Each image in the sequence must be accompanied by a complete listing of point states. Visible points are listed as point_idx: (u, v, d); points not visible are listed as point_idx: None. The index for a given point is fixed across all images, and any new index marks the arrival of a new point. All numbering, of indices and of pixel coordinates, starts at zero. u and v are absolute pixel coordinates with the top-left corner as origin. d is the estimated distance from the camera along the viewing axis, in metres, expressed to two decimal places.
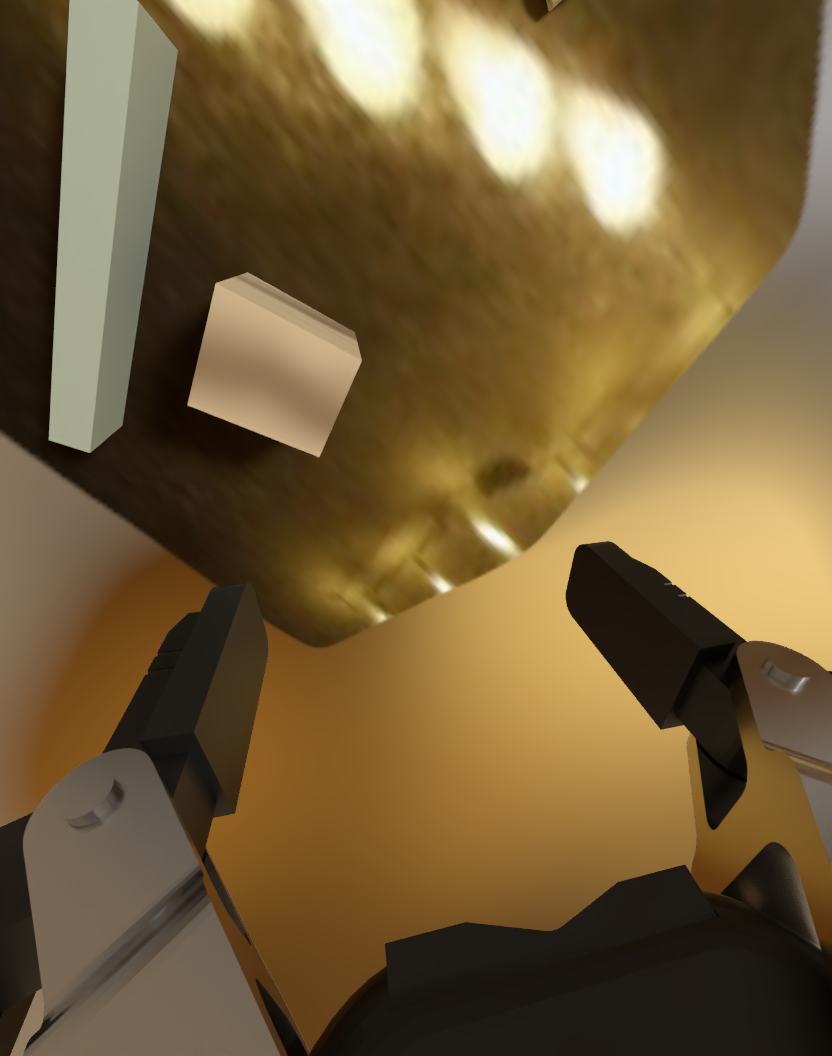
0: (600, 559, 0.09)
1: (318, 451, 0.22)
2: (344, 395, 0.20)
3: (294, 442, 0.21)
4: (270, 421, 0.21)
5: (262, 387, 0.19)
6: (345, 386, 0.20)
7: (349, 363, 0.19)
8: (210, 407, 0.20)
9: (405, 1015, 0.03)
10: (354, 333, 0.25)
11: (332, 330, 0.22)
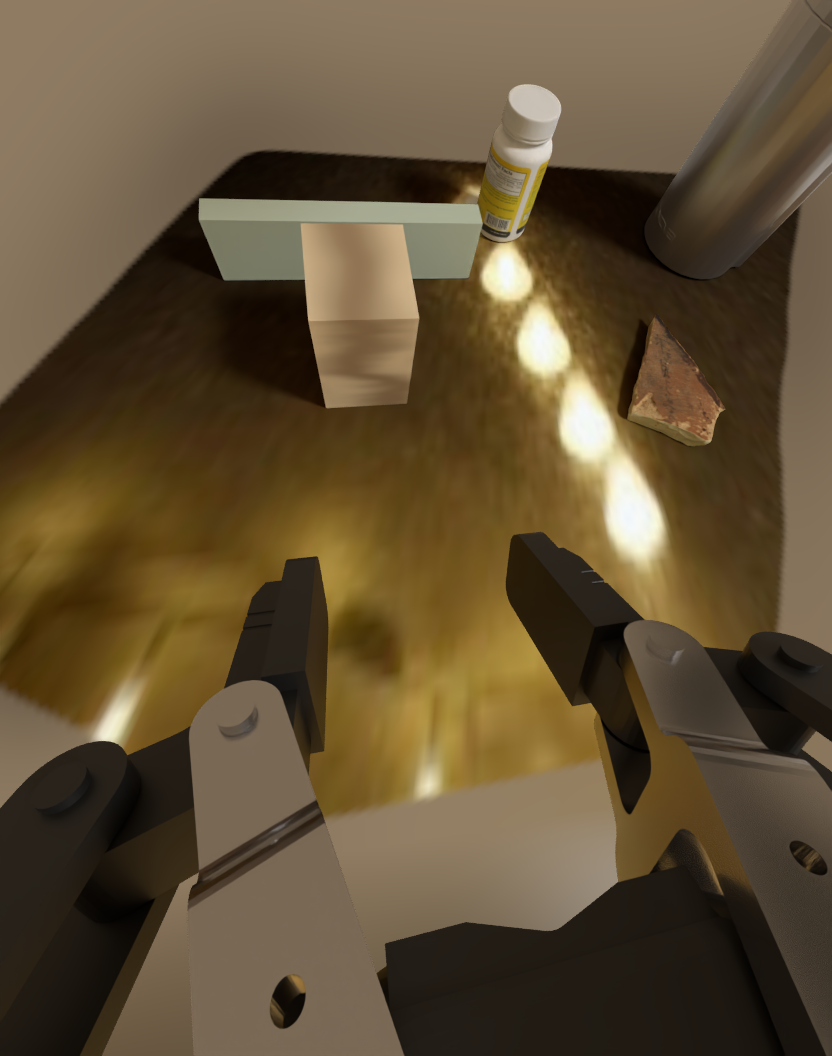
0: (528, 548, 0.09)
1: (314, 318, 0.20)
2: (382, 318, 0.21)
3: (312, 297, 0.20)
4: (321, 275, 0.21)
5: (348, 263, 0.21)
6: (390, 315, 0.21)
7: (410, 311, 0.21)
8: (308, 236, 0.22)
9: (405, 1015, 0.03)
10: None
11: None
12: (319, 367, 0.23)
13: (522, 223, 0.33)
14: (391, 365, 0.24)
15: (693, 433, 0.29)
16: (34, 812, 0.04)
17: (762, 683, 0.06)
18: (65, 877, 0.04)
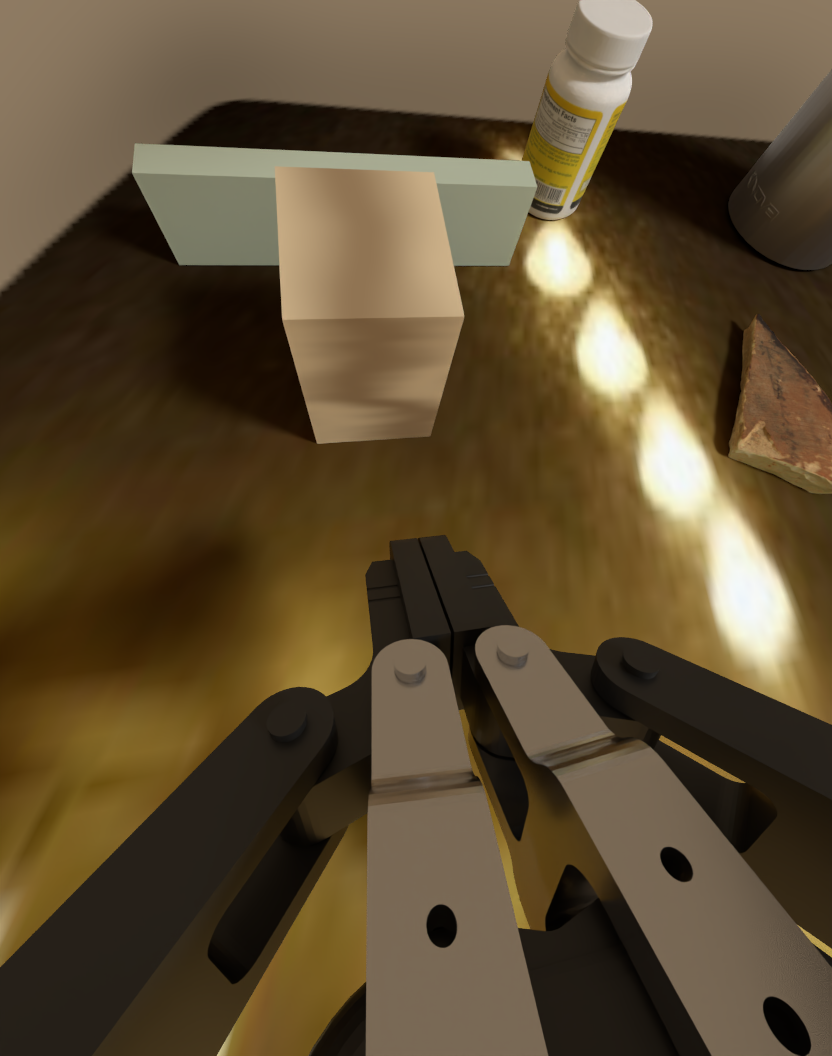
0: (424, 551, 0.09)
1: (292, 315, 0.12)
2: (405, 315, 0.13)
3: (289, 281, 0.12)
4: (306, 246, 0.13)
5: (350, 228, 0.13)
6: (418, 311, 0.13)
7: (450, 304, 0.13)
8: (285, 186, 0.14)
9: None
10: (431, 430, 0.20)
11: None
12: (304, 391, 0.15)
13: (579, 194, 0.25)
14: (412, 387, 0.16)
15: (825, 478, 0.21)
16: (267, 734, 0.05)
17: (616, 698, 0.06)
18: (283, 805, 0.04)
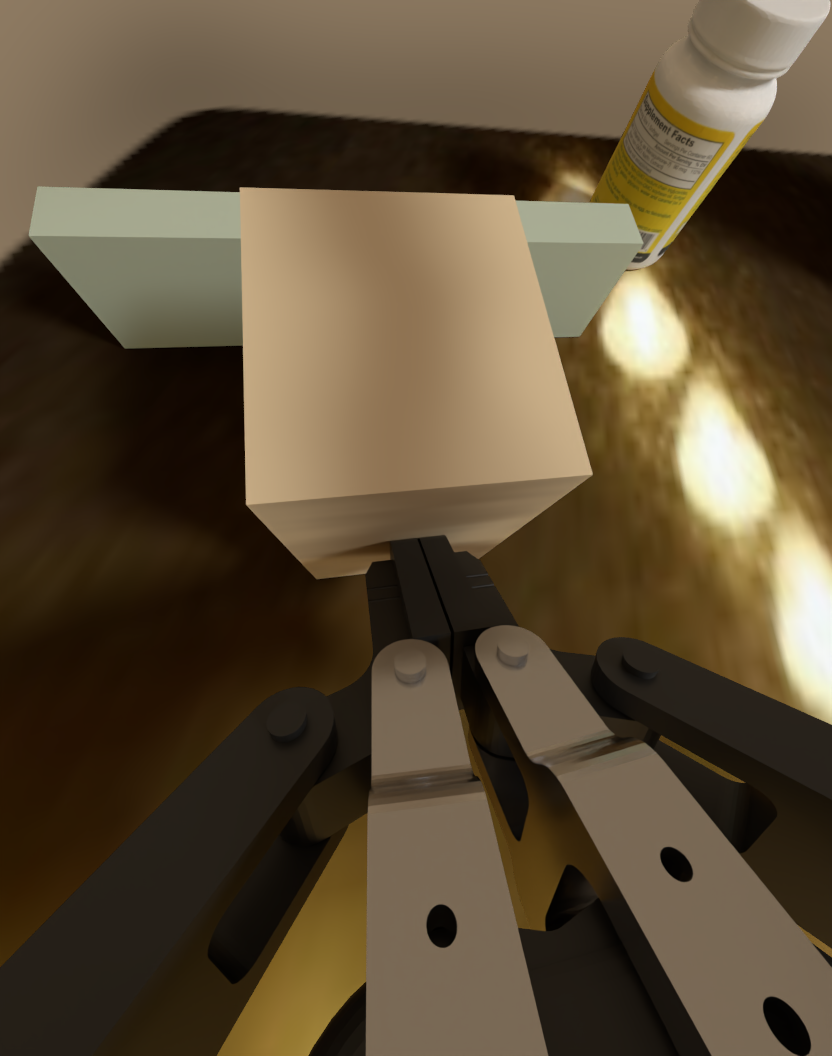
0: (424, 551, 0.09)
1: (267, 493, 0.06)
2: (484, 479, 0.07)
3: (262, 416, 0.06)
4: (294, 341, 0.07)
5: (375, 302, 0.07)
6: (508, 469, 0.07)
7: (565, 451, 0.07)
8: (259, 224, 0.08)
9: None
10: (480, 556, 0.14)
11: None
12: (296, 553, 0.09)
13: (673, 238, 0.19)
14: (468, 535, 0.10)
15: None
16: (267, 734, 0.05)
17: (616, 699, 0.06)
18: (282, 805, 0.04)
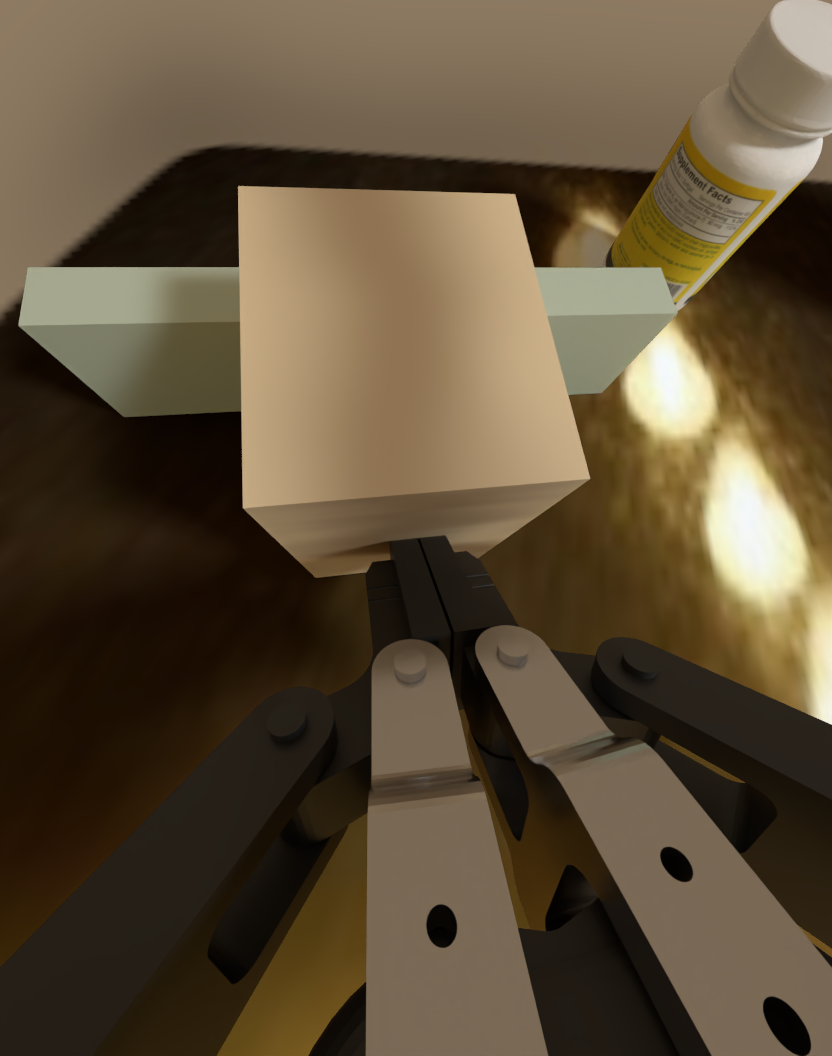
0: (424, 551, 0.09)
1: (263, 496, 0.06)
2: (481, 483, 0.07)
3: (259, 419, 0.06)
4: (292, 343, 0.07)
5: (373, 303, 0.07)
6: (505, 473, 0.07)
7: (562, 455, 0.07)
8: (257, 223, 0.08)
9: None
10: (479, 555, 0.14)
11: None
12: (294, 553, 0.09)
13: (701, 287, 0.18)
14: (467, 536, 0.10)
15: None
16: (267, 734, 0.05)
17: (617, 699, 0.06)
18: (283, 805, 0.04)
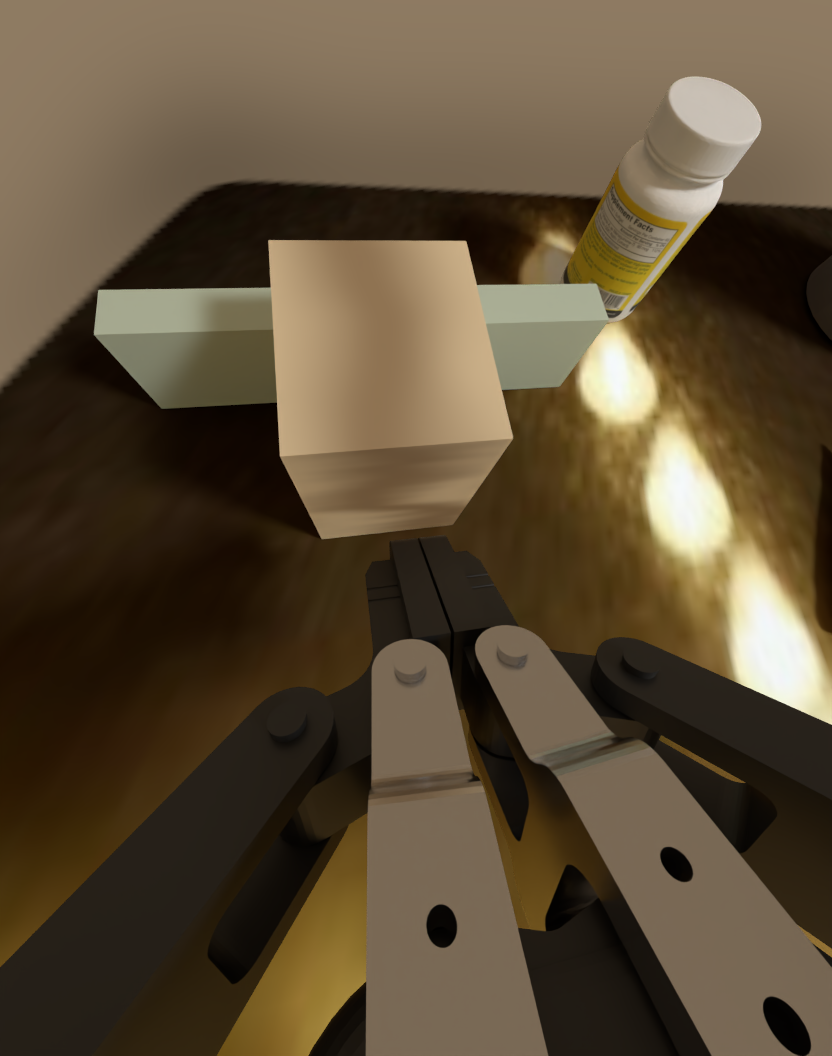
0: (424, 551, 0.09)
1: (293, 449, 0.09)
2: (438, 441, 0.10)
3: (288, 399, 0.10)
4: (309, 349, 0.10)
5: (365, 321, 0.11)
6: (454, 434, 0.10)
7: (494, 422, 0.10)
8: (283, 266, 0.11)
9: None
10: (454, 520, 0.17)
11: None
12: (308, 506, 0.13)
13: (642, 298, 0.21)
14: (438, 494, 0.13)
15: None
16: (267, 734, 0.05)
17: (617, 699, 0.06)
18: (283, 805, 0.04)
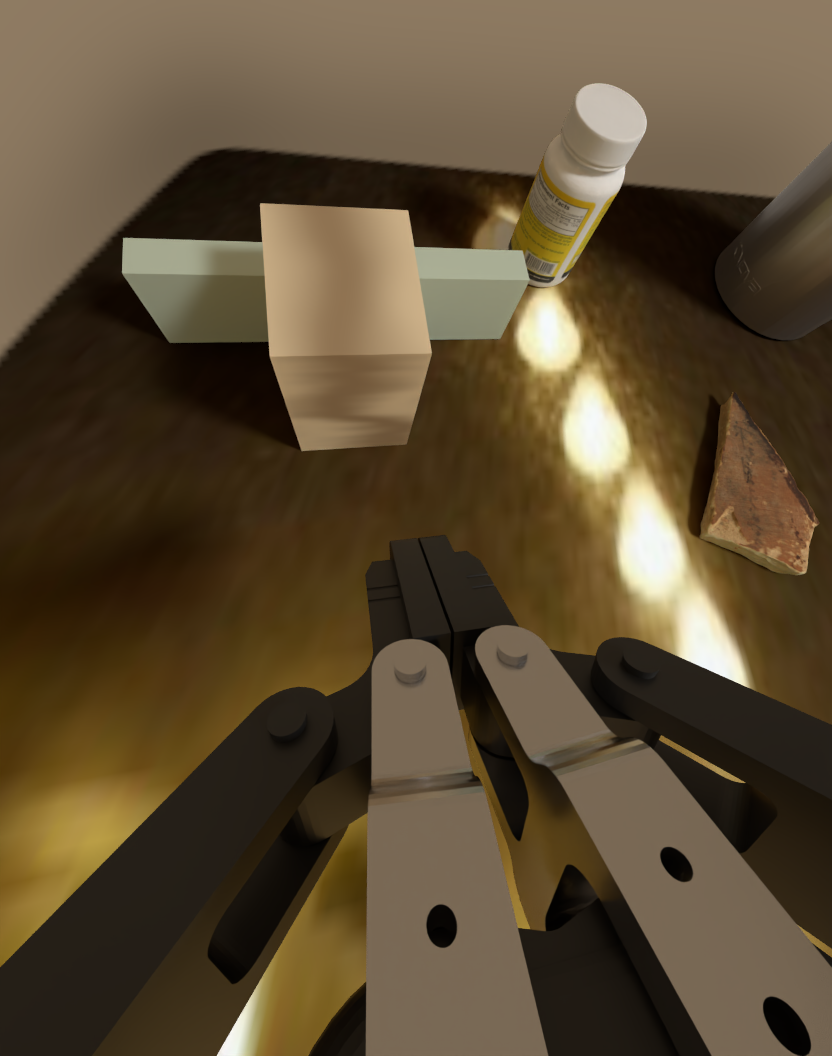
0: (424, 551, 0.09)
1: (278, 352, 0.14)
2: (379, 352, 0.14)
3: (275, 319, 0.14)
4: (290, 285, 0.14)
5: (330, 267, 0.15)
6: (390, 348, 0.14)
7: (419, 342, 0.15)
8: (271, 223, 0.15)
9: None
10: (407, 439, 0.22)
11: None
12: (290, 409, 0.17)
13: (570, 266, 0.25)
14: (388, 406, 0.18)
15: (785, 563, 0.23)
16: (267, 734, 0.05)
17: (616, 699, 0.06)
18: (282, 805, 0.04)
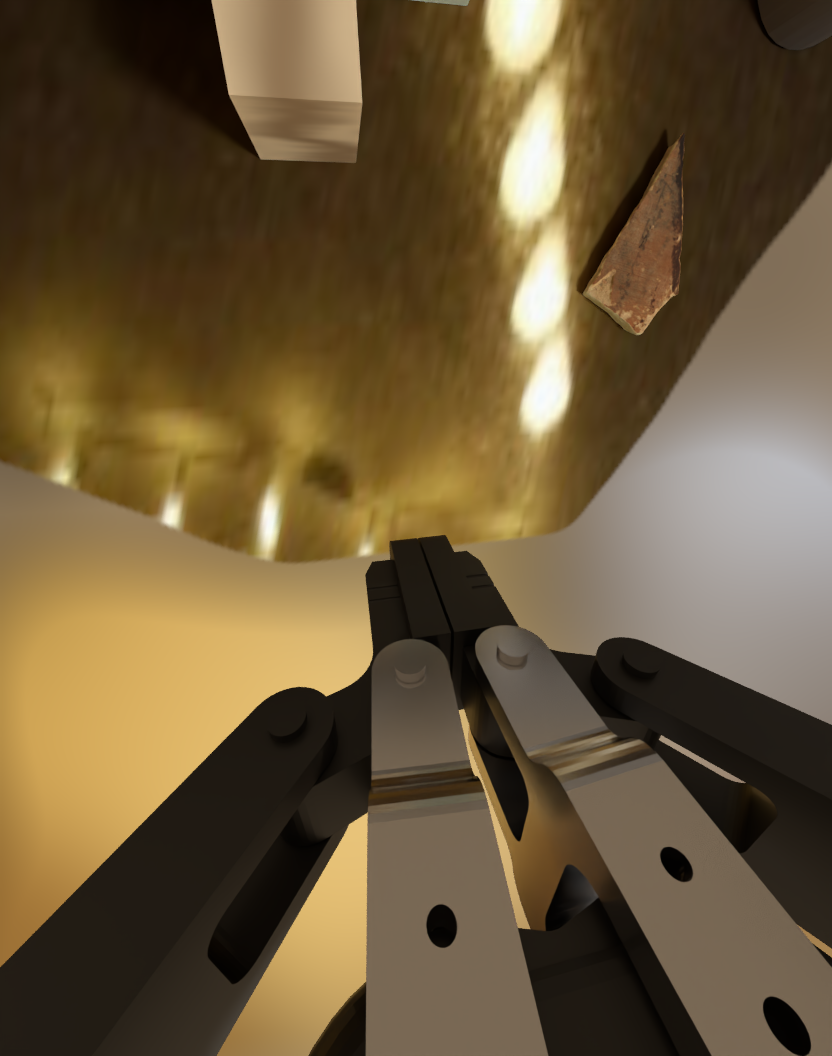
0: (424, 551, 0.09)
1: (235, 90, 0.17)
2: (318, 97, 0.18)
3: (226, 43, 0.16)
4: None
5: None
6: (327, 93, 0.18)
7: (352, 86, 0.18)
8: None
9: None
10: None
11: None
12: (248, 129, 0.20)
13: None
14: (333, 134, 0.21)
15: (630, 324, 0.32)
16: (267, 734, 0.05)
17: (617, 698, 0.06)
18: (283, 805, 0.04)
